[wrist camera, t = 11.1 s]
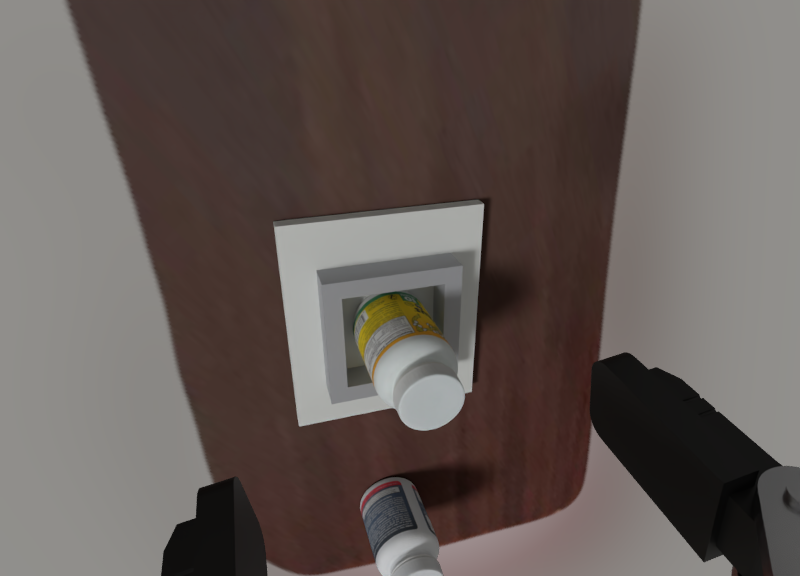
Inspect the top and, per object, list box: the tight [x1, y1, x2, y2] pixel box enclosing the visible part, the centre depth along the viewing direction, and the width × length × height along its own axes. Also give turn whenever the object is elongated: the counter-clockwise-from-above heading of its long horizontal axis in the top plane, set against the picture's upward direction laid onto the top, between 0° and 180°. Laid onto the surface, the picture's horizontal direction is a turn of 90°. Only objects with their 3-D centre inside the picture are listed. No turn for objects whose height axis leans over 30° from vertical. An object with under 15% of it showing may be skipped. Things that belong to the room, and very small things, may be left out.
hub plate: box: [273, 200, 484, 426], centre depth 38 cm, size 16×14×3 cm
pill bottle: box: [360, 477, 443, 576], centre depth 45 cm, size 5×5×9 cm
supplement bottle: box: [352, 290, 465, 430], centre depth 35 cm, size 5×5×10 cm
